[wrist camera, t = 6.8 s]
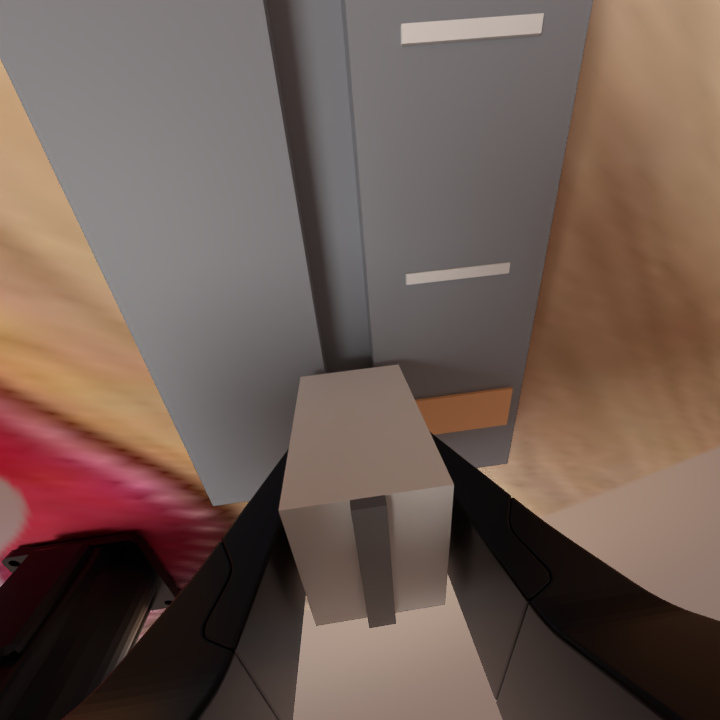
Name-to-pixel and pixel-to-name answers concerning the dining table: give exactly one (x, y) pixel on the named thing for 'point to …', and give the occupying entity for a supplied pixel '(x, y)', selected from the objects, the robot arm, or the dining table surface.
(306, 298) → the console
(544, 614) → the robot arm
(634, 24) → the dining table surface
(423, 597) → the fader knob
